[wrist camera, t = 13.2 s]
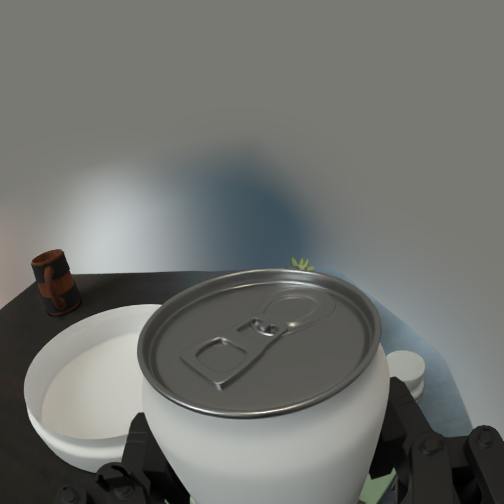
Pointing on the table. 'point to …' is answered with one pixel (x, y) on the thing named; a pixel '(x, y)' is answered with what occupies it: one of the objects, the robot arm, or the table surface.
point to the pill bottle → (408, 371)
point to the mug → (55, 282)
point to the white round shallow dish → (89, 387)
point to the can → (266, 387)
